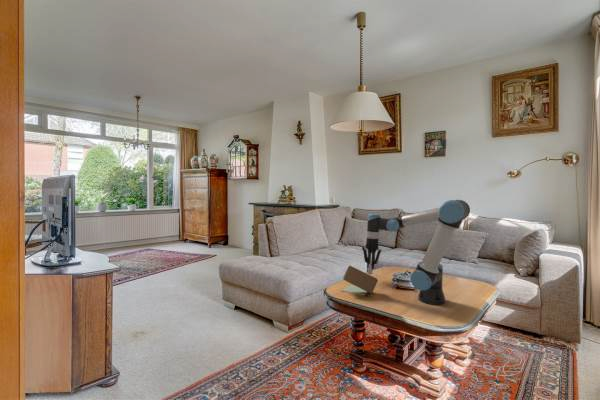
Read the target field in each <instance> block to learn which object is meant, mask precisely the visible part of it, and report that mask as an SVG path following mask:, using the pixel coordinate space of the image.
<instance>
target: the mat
mask: <svg viewBox="0 0 600 400" xmlns="http://www.w3.org/2000/svg"><path fill="white" fill-rule="evenodd" d="M341 292H346V293H350V294H354V295H361V296H365V295H366V294H368V293H369V292H367V291H365V290H363V289H361V288H359V287H357V286H355V285H353V284H350V285H348V286H345V287H344V288H342V289H341Z"/></svg>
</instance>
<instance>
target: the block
mask: <svg viewBox="0 0 600 400" xmlns="http://www.w3.org/2000/svg"><path fill="white" fill-rule="evenodd" d="M342 279H343V280H344V281H345V282H347V283H349V284H350V285H354V286H357V287H359V288H361V289H363V290H365V291H367V292H368V293H369V294H373V292H374V290H375V289H376V286H377V283H378V278H377V277H375V276H372V274H371V275H370V274H368V273H366V272H364V271H362V270H360V269H358V268H356V267H354V266H352V265H348V267H347V269H346V271H345V273H344V276H343V278H342Z"/></svg>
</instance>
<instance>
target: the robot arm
mask: <svg viewBox="0 0 600 400" xmlns="http://www.w3.org/2000/svg"><path fill="white" fill-rule="evenodd" d="M470 214H471V207H470V205H469V204H468V203H467V202H466V201H464V200H462V199H449V200H447V201H445V202H443V203H442V204H441V205H440V206H439V207H435V208H432V209H427V210H422V211H418V212H415V213H409V214H405V215H400V216H396V217H390V218H386V217H385V218H383V217H381V215H380V213H369V214H368V215H367V229H366V241H365V242H366V244H365V246H363V247H361V249H362V251H363V258H364V262H365V263H366V264H367V269H368V270H367V272H368V273H367V274H369V275H371V276H372V275H373V274H374V273H373V272H374V269H375V265H377V264H378V263H379V259H380V255H381V254H382V252H383V250H382V249H380V247H379V241H380V239H379V237H380V236H379V235H380V231H386V232H390V233H392V232H393V233H396V232H397V231H398V230H399V229H404V228H408V227H413V226H415V227H416V226H418V225H423V224H430V223H434V222H437V223H438V224H437V227H436V229H435V231H434V234H433V236H432V238H431V240H430V243H429V245H428V248H427V250H426V252H425V254H424V256H423V259H422V260H421V261H418V263H417V266H416V267H415V270H414V271H412V273H411V274H410V277H409V280H410V283H411V285H412V286H413V287H414V288H415V289H417V290H419V292H418V296H417V298H418V300H419V301H420V302H422V303H424V304H428V305H436V306H437V305H444V304H446V297H445V293H444V290H443V274H444V273H443V271H444V269H443V265H442V264H441V261H442V259H443V257H444V255H445V252H446V250H447V248H448V246H449V244H450V241H451V239H452V237H453V235H454V233H455V231H456V230H459V229H460V227H461V225H462V223H463V221H464V220H465V219H467V218H468V217H469V215H470Z"/></svg>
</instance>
